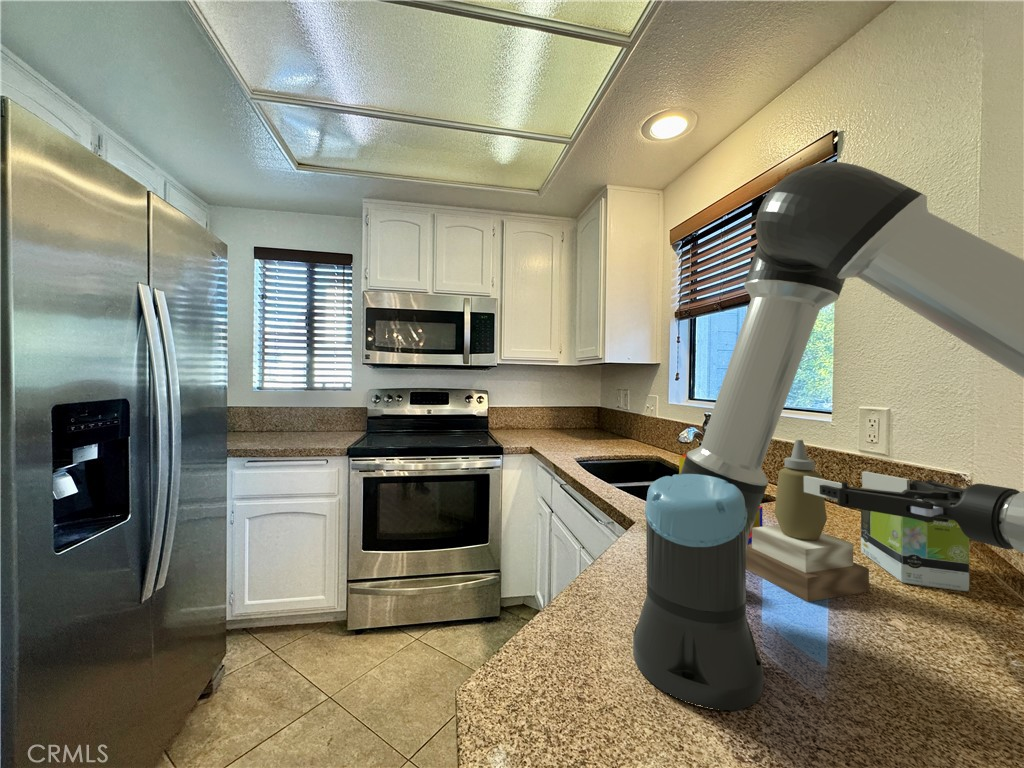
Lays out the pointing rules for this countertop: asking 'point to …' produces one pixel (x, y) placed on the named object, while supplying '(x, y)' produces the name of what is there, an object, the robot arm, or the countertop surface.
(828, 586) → the box on wooden base
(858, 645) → the countertop surface
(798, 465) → the squeeze bottle
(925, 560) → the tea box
